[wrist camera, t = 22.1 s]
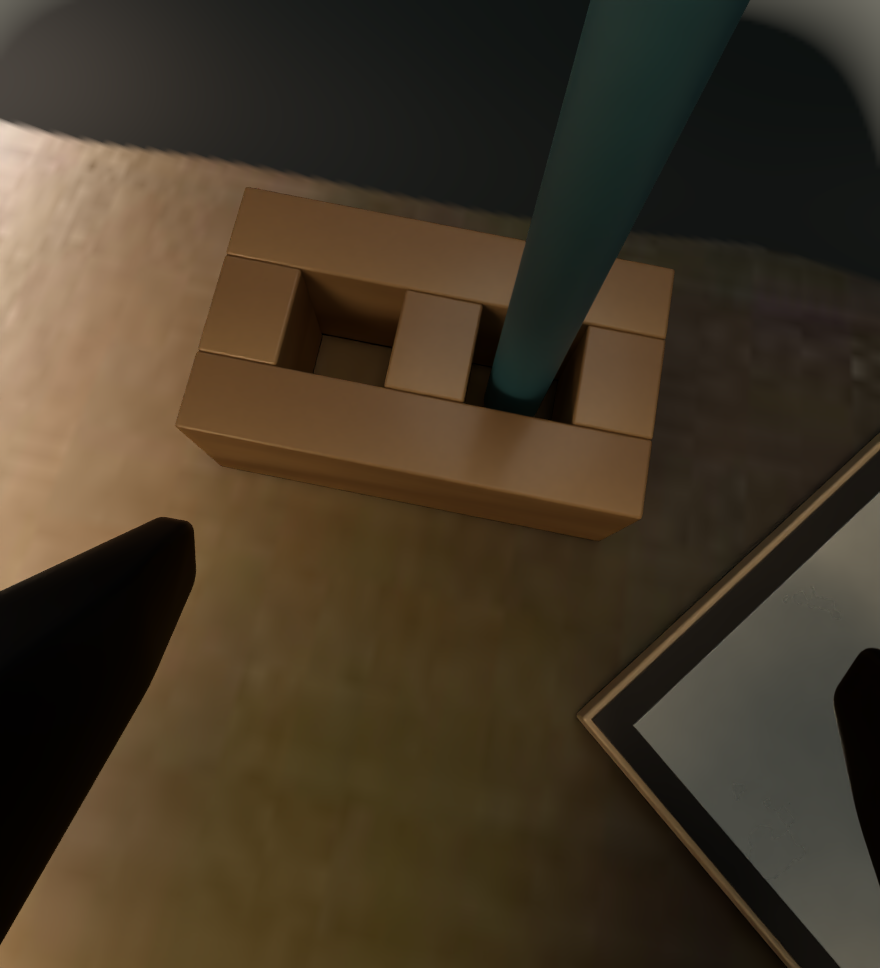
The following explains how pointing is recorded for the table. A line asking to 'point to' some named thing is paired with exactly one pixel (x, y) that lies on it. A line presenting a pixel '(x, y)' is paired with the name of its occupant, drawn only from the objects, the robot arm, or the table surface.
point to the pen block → (420, 370)
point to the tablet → (767, 726)
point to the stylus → (602, 173)
